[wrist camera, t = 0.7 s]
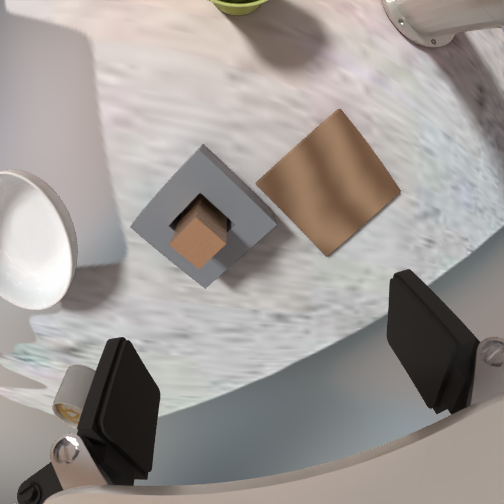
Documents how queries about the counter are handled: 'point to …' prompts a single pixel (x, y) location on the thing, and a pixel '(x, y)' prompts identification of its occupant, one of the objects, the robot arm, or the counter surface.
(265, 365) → the counter surface
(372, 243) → the counter surface
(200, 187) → the socket block
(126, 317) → the counter surface
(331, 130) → the walnut mat
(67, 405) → the coffee mug
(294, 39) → the counter surface
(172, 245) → the copper peg
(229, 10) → the plant pot
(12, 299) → the serving bowl
